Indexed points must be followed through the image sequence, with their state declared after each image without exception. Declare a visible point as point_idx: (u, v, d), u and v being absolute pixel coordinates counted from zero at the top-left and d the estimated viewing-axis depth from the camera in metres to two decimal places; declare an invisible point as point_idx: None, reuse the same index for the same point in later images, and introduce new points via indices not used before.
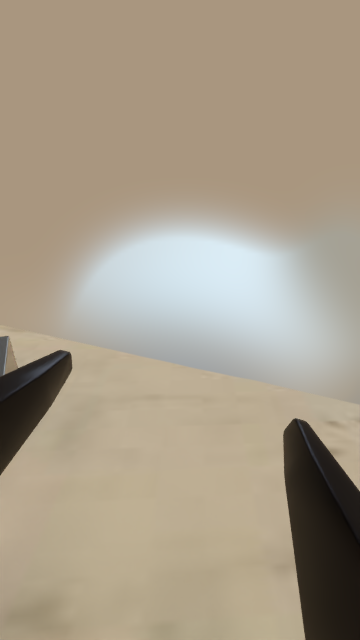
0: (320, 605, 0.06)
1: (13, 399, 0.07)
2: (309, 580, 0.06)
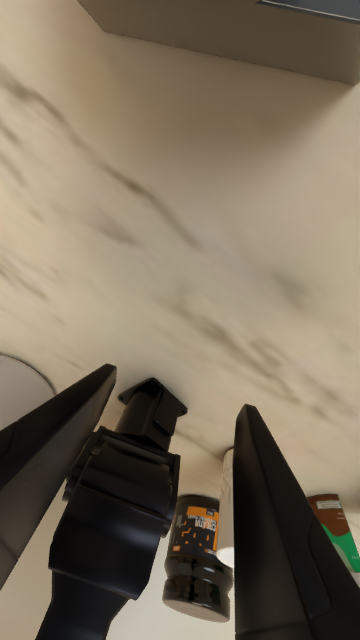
0: (246, 581, 0.06)
1: (74, 418, 0.07)
2: (241, 558, 0.06)
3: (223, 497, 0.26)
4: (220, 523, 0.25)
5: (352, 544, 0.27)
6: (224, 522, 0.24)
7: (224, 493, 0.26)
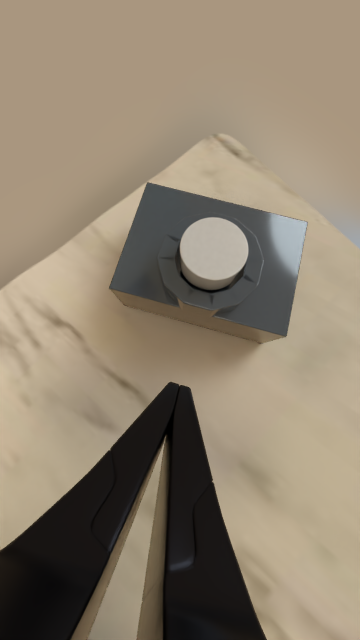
0: (152, 549, 0.06)
1: (159, 444, 0.06)
2: (153, 529, 0.06)
3: None
4: None
5: None
6: None
7: None
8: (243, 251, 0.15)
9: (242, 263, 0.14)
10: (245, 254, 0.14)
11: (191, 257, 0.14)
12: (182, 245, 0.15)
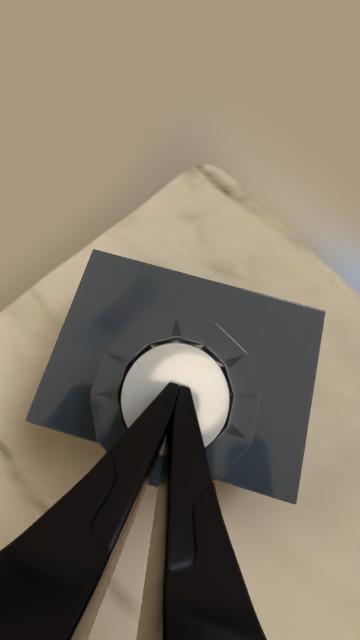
0: (152, 549, 0.06)
1: (159, 444, 0.06)
2: (154, 529, 0.06)
3: None
4: None
5: None
6: None
7: None
8: (222, 405, 0.09)
9: (219, 426, 0.09)
10: (224, 410, 0.09)
11: (138, 415, 0.09)
12: (125, 394, 0.09)
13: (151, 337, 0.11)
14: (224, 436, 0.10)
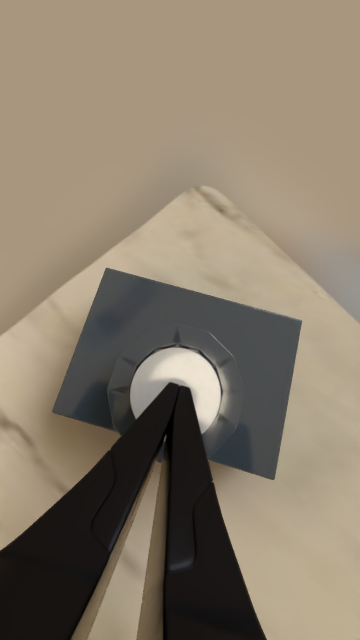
0: (152, 549, 0.06)
1: (159, 444, 0.06)
2: (153, 529, 0.06)
3: None
4: None
5: None
6: None
7: None
8: (214, 399, 0.11)
9: (212, 417, 0.11)
10: (216, 404, 0.11)
11: (144, 408, 0.11)
12: (133, 390, 0.11)
13: (156, 343, 0.13)
14: (214, 423, 0.12)
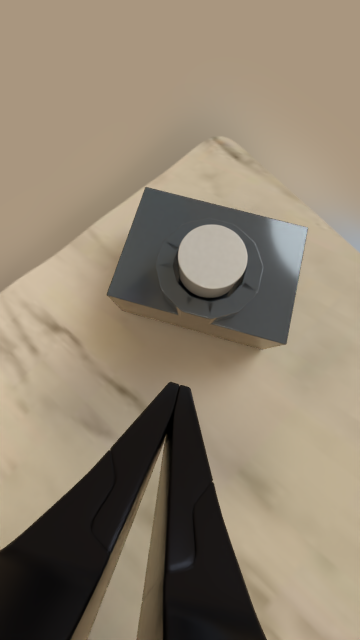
0: (152, 549, 0.06)
1: (159, 444, 0.06)
2: (153, 529, 0.06)
3: None
4: None
5: None
6: None
7: None
8: (243, 259, 0.14)
9: (241, 271, 0.14)
10: (244, 262, 0.14)
11: (189, 265, 0.14)
12: (180, 253, 0.14)
13: None
14: (240, 289, 0.16)
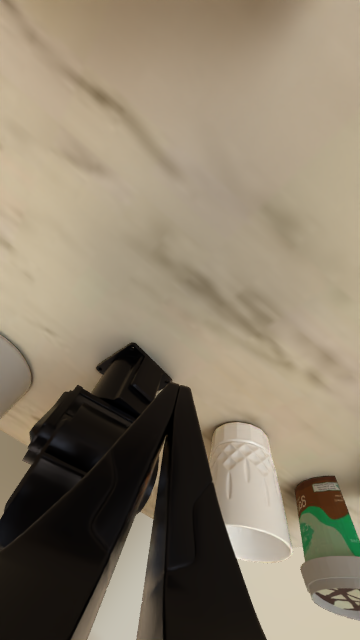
0: (152, 549, 0.06)
1: (159, 444, 0.06)
2: (153, 529, 0.06)
3: None
4: None
5: (351, 527, 0.25)
6: None
7: (211, 470, 0.24)
8: None
9: None
10: None
11: None
12: None
13: None
14: None
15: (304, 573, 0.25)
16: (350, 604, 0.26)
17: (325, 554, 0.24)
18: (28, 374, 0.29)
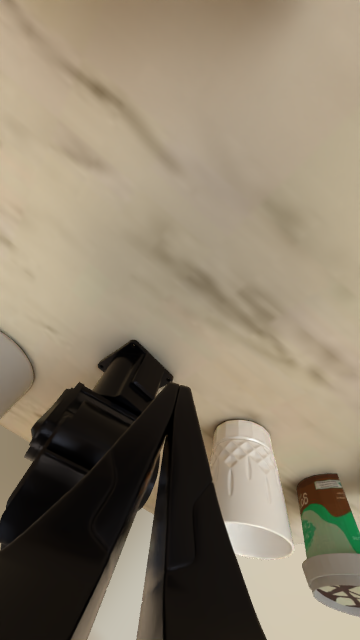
0: (152, 549, 0.06)
1: (159, 444, 0.06)
2: (153, 529, 0.06)
3: (211, 472, 0.24)
4: None
5: (353, 524, 0.25)
6: None
7: (212, 468, 0.24)
8: None
9: None
10: None
11: None
12: None
13: None
14: None
15: (306, 570, 0.25)
16: (352, 601, 0.26)
17: (327, 551, 0.24)
18: (30, 372, 0.29)
